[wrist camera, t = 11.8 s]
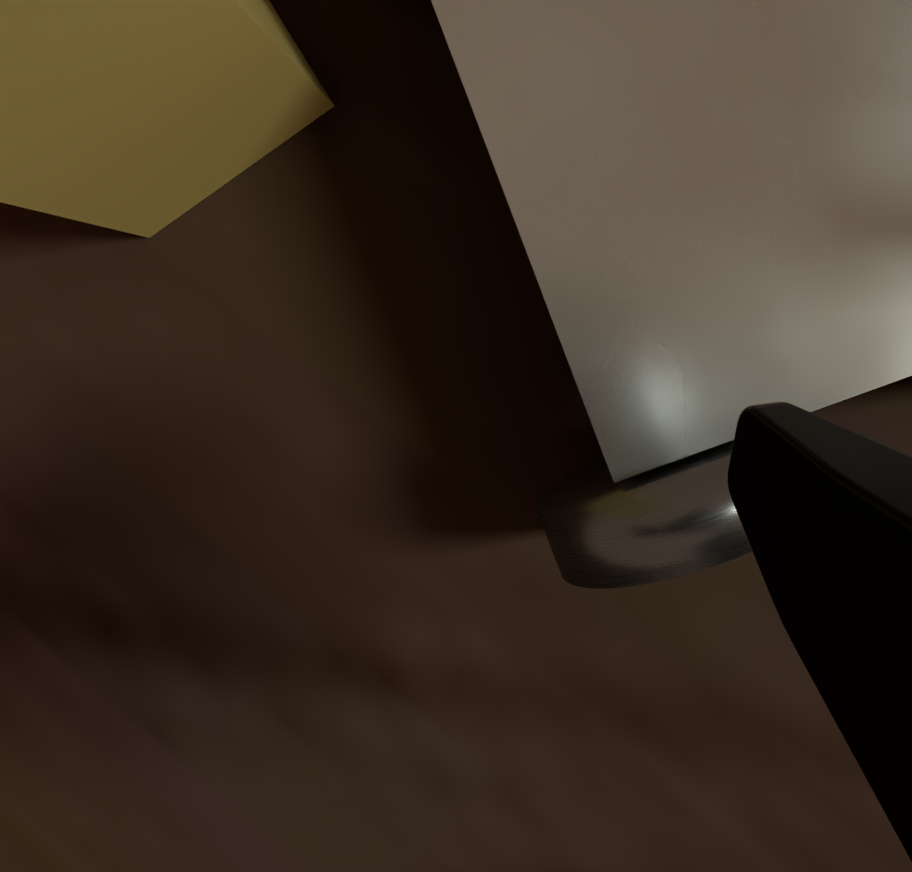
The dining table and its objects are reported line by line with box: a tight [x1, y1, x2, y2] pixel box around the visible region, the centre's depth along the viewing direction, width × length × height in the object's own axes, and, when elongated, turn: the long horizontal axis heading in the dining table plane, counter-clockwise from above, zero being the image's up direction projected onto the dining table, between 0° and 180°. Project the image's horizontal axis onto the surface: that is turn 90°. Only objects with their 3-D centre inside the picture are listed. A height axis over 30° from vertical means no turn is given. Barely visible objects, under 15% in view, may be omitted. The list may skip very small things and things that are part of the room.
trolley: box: [431, 0, 912, 588], centre depth 11 cm, size 13×14×12 cm
